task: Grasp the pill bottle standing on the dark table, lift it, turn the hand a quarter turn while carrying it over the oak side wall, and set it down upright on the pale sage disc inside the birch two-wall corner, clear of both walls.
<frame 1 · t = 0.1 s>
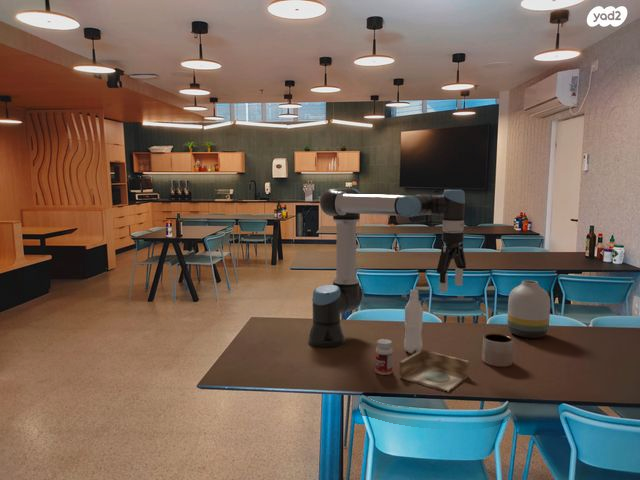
hand: (451, 288, 177), 28 cm above the table, fingers open, 13 cm apart
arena: (433, 377, 164), on the table
water bottle: (412, 351, 189), on the table
vase: (527, 335, 210), on the table
pill bottle: (383, 372, 169), on the table
planter: (497, 362, 178), on the table
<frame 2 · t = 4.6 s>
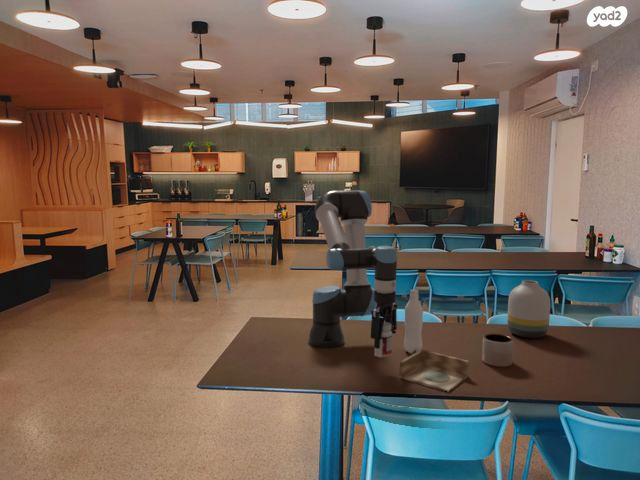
hand: (383, 353, 169), 7 cm above the table, fingers closed on pill bottle, 6 cm apart
pill bottle: (382, 354, 169), point 6 cm above the table, touching gripper
everything else where it was.
when the fingers open (2 cm above the table, at t = 9.2 s): pill bottle drops 1 cm, resting on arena.
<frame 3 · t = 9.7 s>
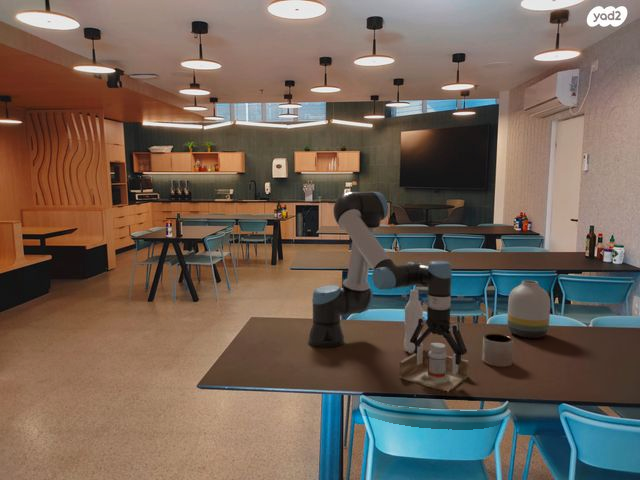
hand: (436, 368, 162), 4 cm above the table, fingers open, 12 cm apart
pill bottle: (436, 377, 163), point 1 cm above the table, touching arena
everything else where it was.
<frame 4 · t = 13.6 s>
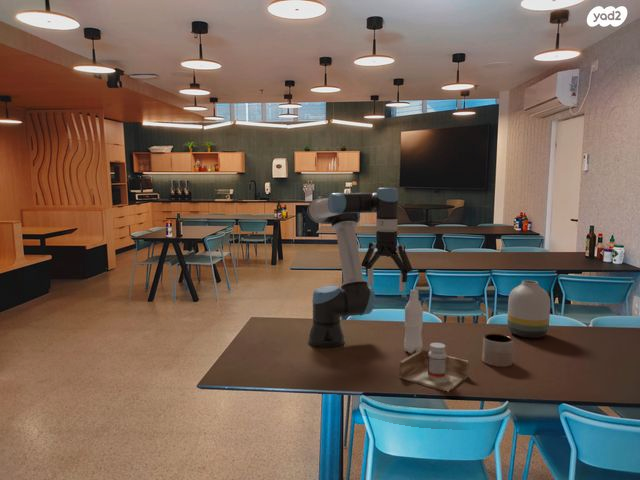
hand: (385, 288, 173), 29 cm above the table, fingers open, 13 cm apart
nothing on the table moved.
at the end: pill bottle inside the target area on the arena (0.1 cm from its centre), point 0.7 cm above the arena's base; pill bottle tilted 0°; the gripper is holding nothing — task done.
